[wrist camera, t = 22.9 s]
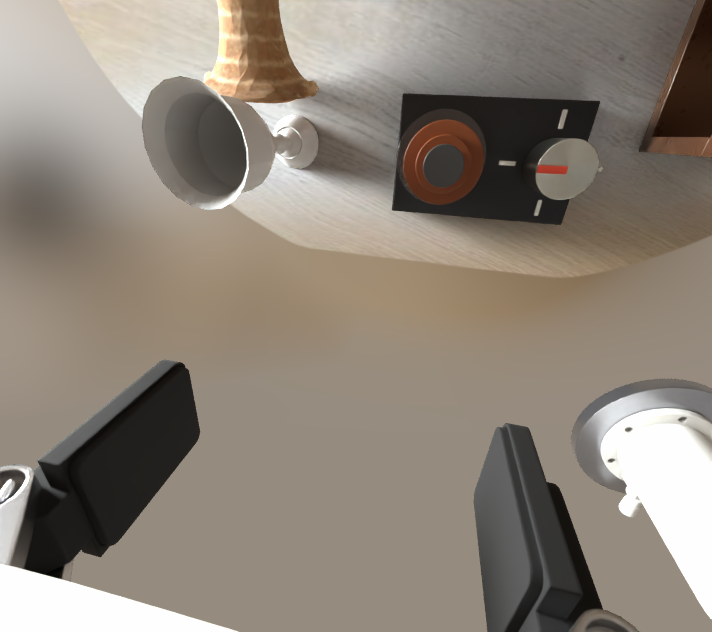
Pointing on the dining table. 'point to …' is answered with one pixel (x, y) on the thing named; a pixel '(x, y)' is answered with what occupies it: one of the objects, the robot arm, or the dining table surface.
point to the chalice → (217, 142)
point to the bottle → (443, 162)
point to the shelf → (686, 94)
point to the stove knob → (561, 167)
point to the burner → (424, 121)
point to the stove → (501, 153)
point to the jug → (255, 55)
